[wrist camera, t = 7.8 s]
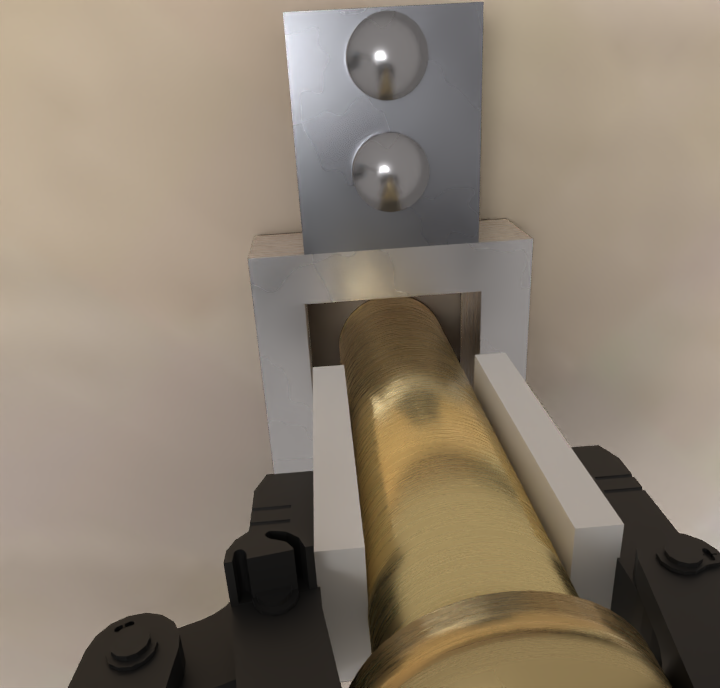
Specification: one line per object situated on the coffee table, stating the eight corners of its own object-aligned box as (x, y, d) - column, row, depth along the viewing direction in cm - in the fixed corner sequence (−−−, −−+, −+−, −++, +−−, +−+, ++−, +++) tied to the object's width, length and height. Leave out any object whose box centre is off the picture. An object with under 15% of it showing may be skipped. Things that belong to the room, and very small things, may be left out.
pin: (327, 409, 21) (355, 916, 8) (317, 284, 19) (331, 682, 7) (458, 399, 21) (675, 880, 9) (459, 274, 19) (729, 643, 7)
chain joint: (493, 563, 24) (516, 624, 21) (295, 582, 23) (293, 646, 21) (514, 8, 17) (552, -4, 14) (230, 22, 16) (215, 14, 14)
